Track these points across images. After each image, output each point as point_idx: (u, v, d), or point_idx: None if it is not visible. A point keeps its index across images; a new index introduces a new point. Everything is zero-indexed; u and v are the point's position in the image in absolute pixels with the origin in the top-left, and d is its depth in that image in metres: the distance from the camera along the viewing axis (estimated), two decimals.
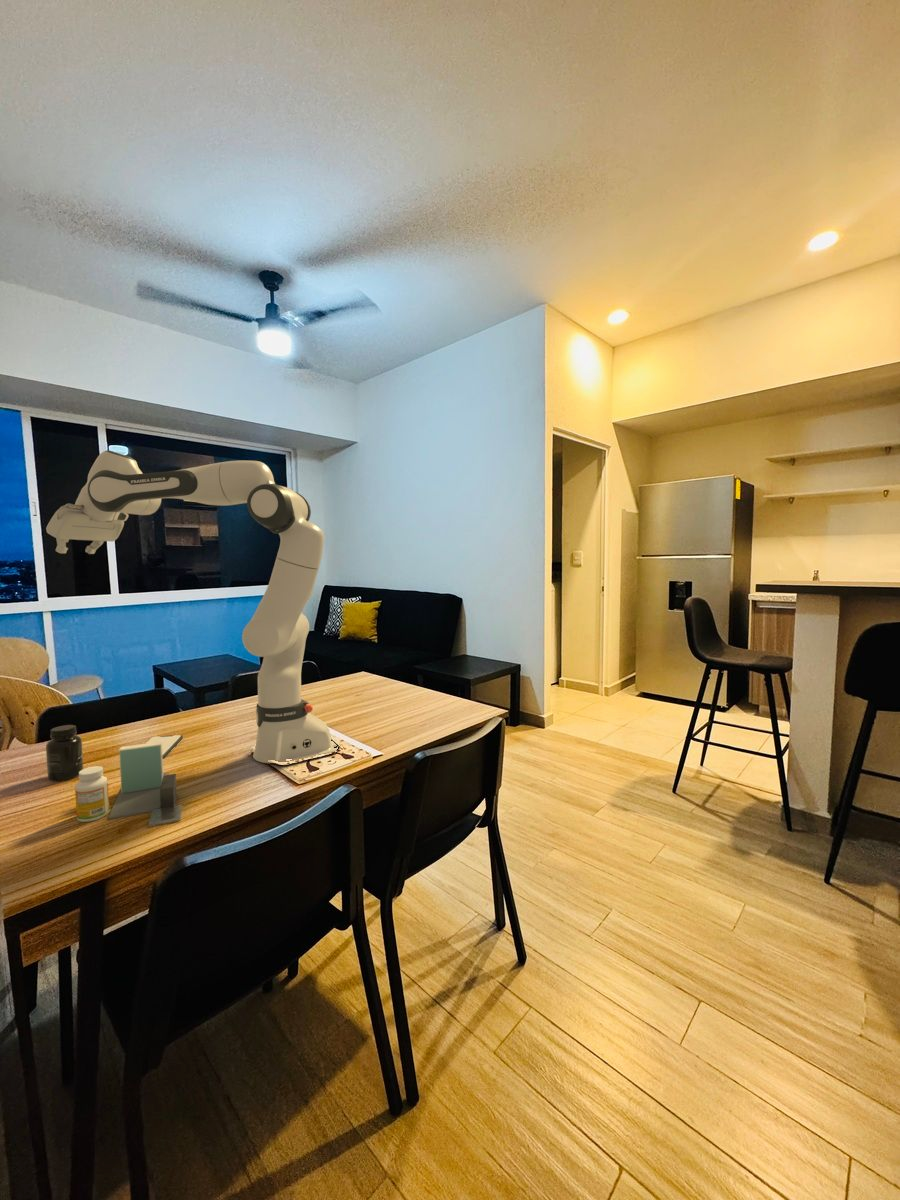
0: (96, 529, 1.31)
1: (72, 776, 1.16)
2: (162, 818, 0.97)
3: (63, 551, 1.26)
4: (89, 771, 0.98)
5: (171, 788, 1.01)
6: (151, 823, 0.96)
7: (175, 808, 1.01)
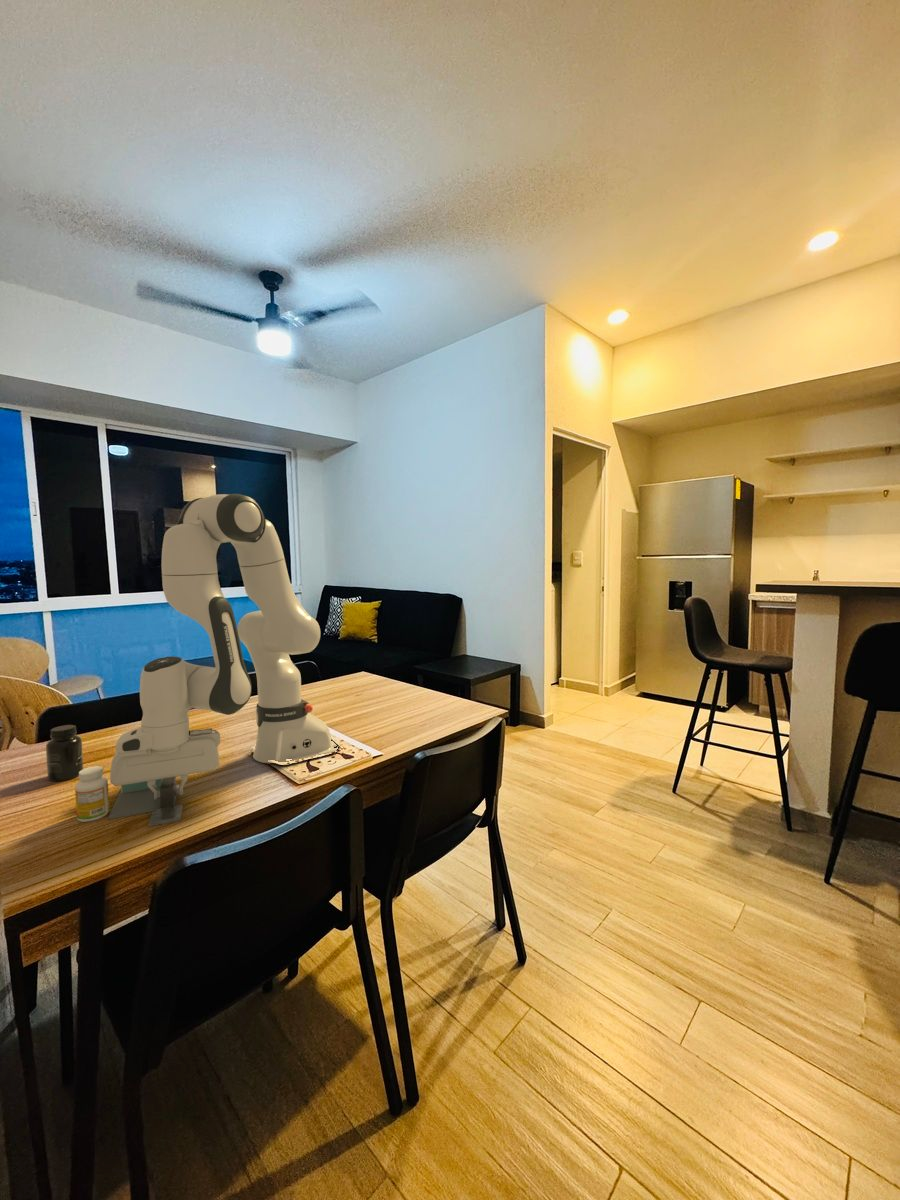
0: None
1: (72, 776, 1.16)
2: (162, 818, 0.97)
3: None
4: (89, 771, 0.98)
5: (171, 788, 1.01)
6: (151, 823, 0.96)
7: (175, 808, 1.01)
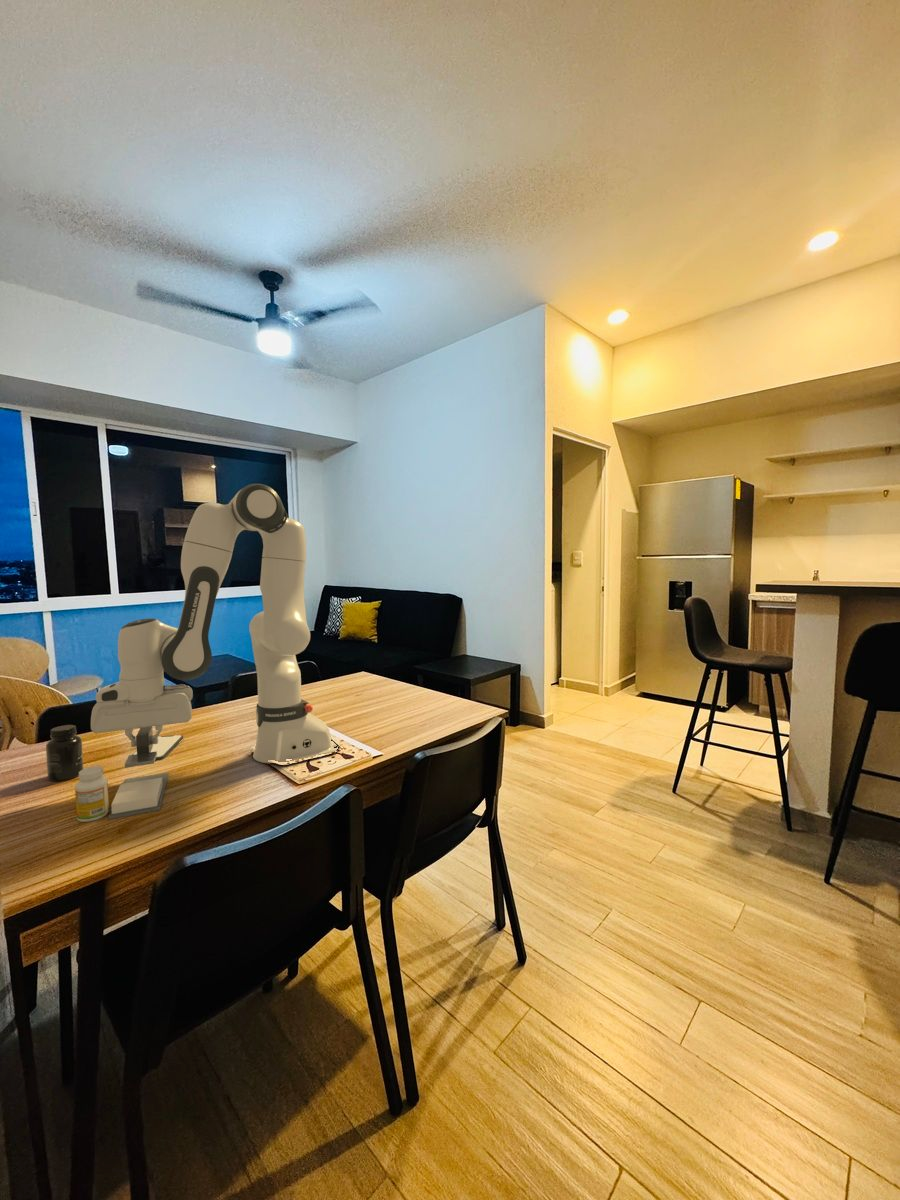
0: None
1: (72, 776, 1.16)
2: (137, 761, 1.08)
3: None
4: (89, 771, 0.98)
5: (146, 736, 1.12)
6: (127, 764, 1.06)
7: (150, 754, 1.11)
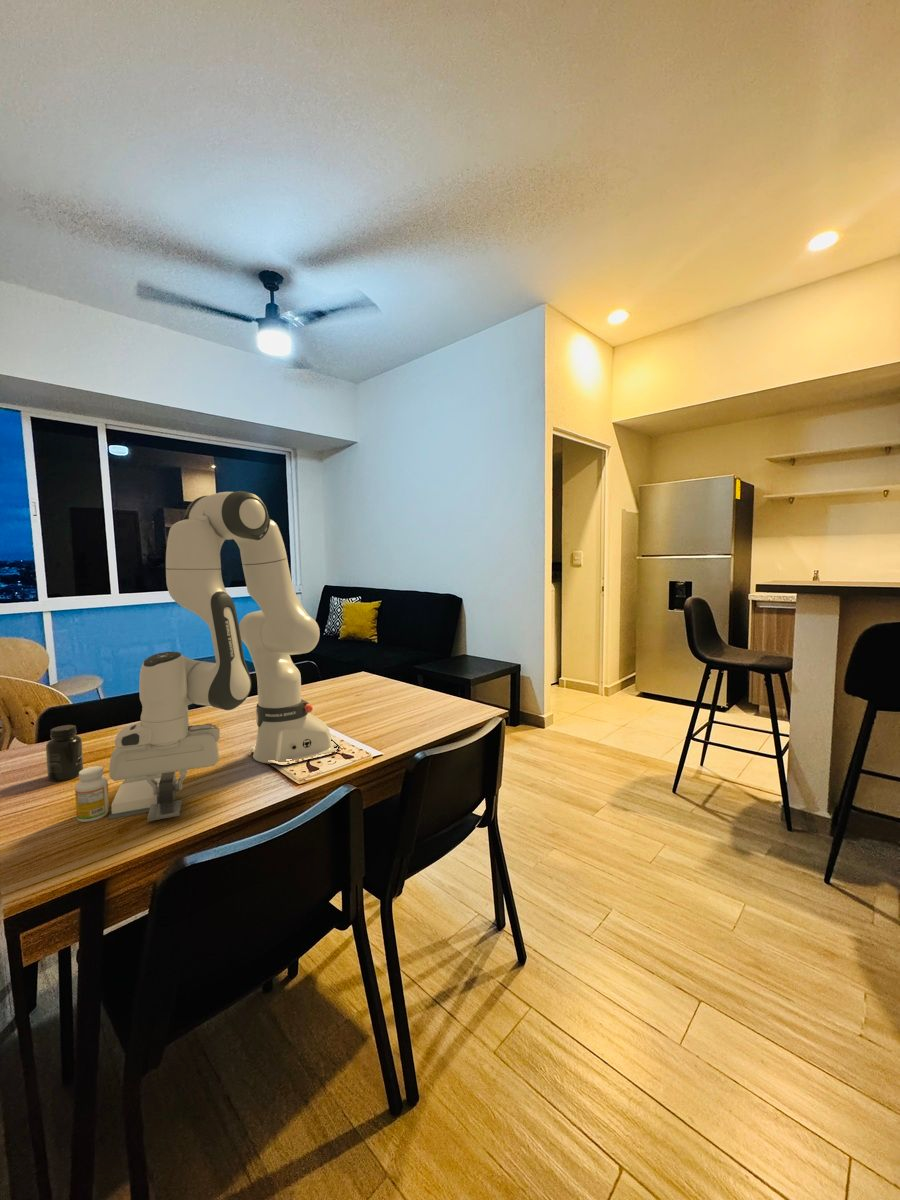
0: None
1: (72, 776, 1.16)
2: (161, 812, 0.97)
3: None
4: (89, 771, 0.98)
5: (170, 783, 1.01)
6: (150, 817, 0.95)
7: (174, 803, 1.01)
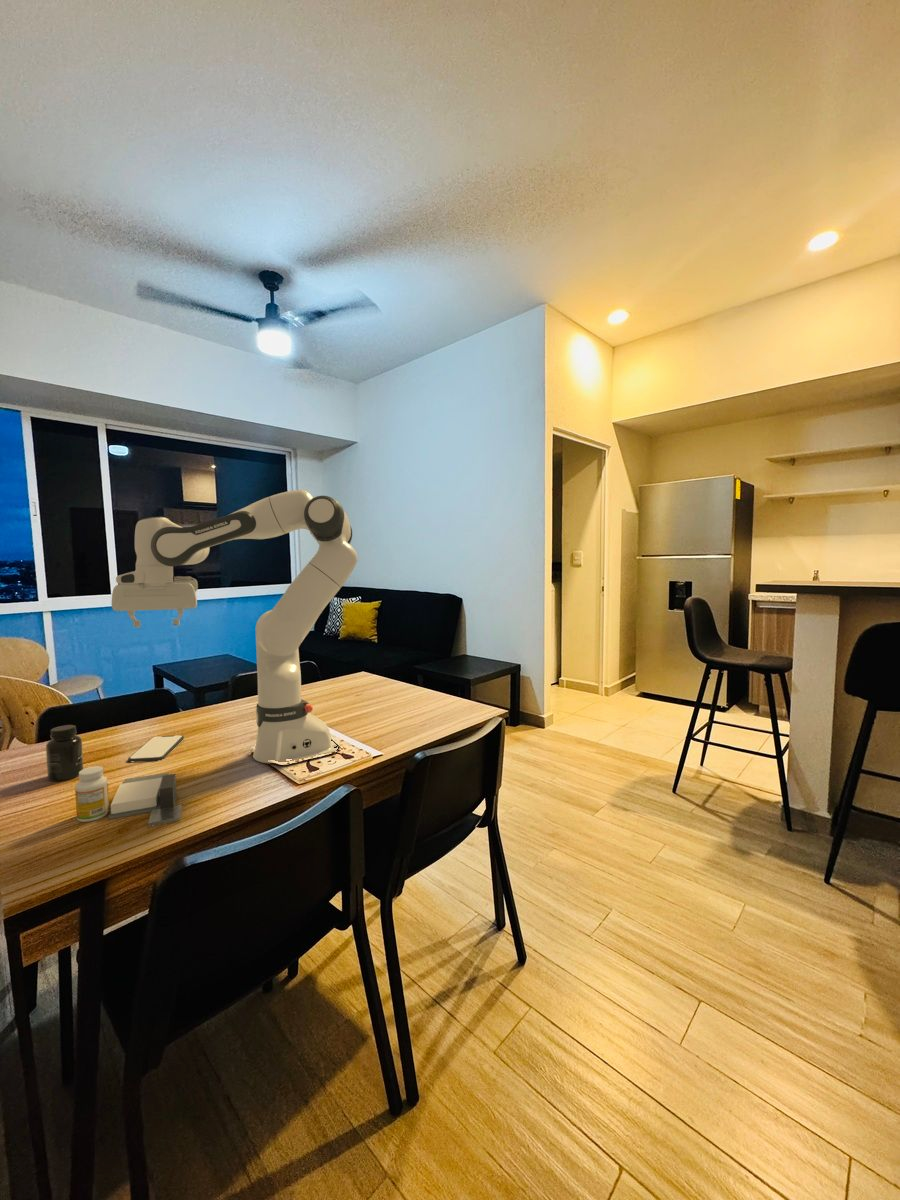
0: None
1: (72, 776, 1.16)
2: (161, 818, 0.97)
3: None
4: (89, 771, 0.98)
5: (171, 788, 1.01)
6: (150, 823, 0.96)
7: (175, 808, 1.01)
